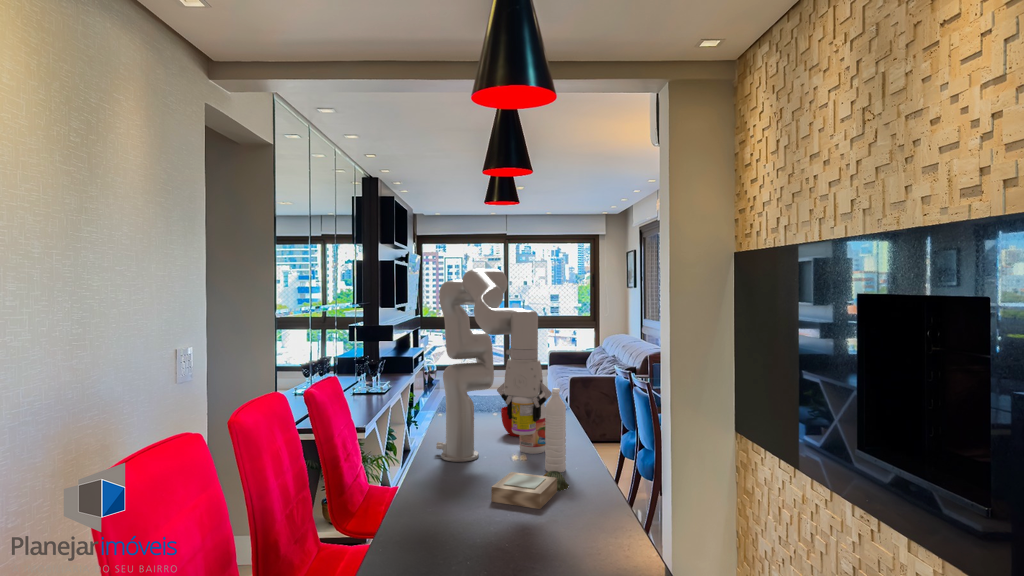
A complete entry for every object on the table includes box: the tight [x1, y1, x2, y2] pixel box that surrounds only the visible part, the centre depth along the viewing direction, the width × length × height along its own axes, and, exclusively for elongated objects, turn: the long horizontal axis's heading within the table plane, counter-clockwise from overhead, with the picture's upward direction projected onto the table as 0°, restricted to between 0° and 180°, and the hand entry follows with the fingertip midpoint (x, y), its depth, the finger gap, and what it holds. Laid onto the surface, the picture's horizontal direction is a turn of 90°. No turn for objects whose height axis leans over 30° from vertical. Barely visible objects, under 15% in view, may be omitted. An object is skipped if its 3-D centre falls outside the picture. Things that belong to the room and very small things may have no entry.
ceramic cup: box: [500, 406, 520, 438], centre depth 237 cm, size 13×17×10 cm
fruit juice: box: [519, 392, 546, 455], centre depth 213 cm, size 9×9×28 cm
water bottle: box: [544, 387, 567, 474], centre depth 192 cm, size 9×6×25 cm
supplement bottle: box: [512, 396, 536, 435], centre depth 166 cm, size 7×7×13 cm
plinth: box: [490, 471, 558, 510], centre depth 167 cm, size 14×14×4 cm
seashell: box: [542, 471, 570, 492], centre depth 176 cm, size 10×4×10 cm
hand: (523, 418), depth 166 cm, fingers closed on supplement bottle, 6 cm apart
